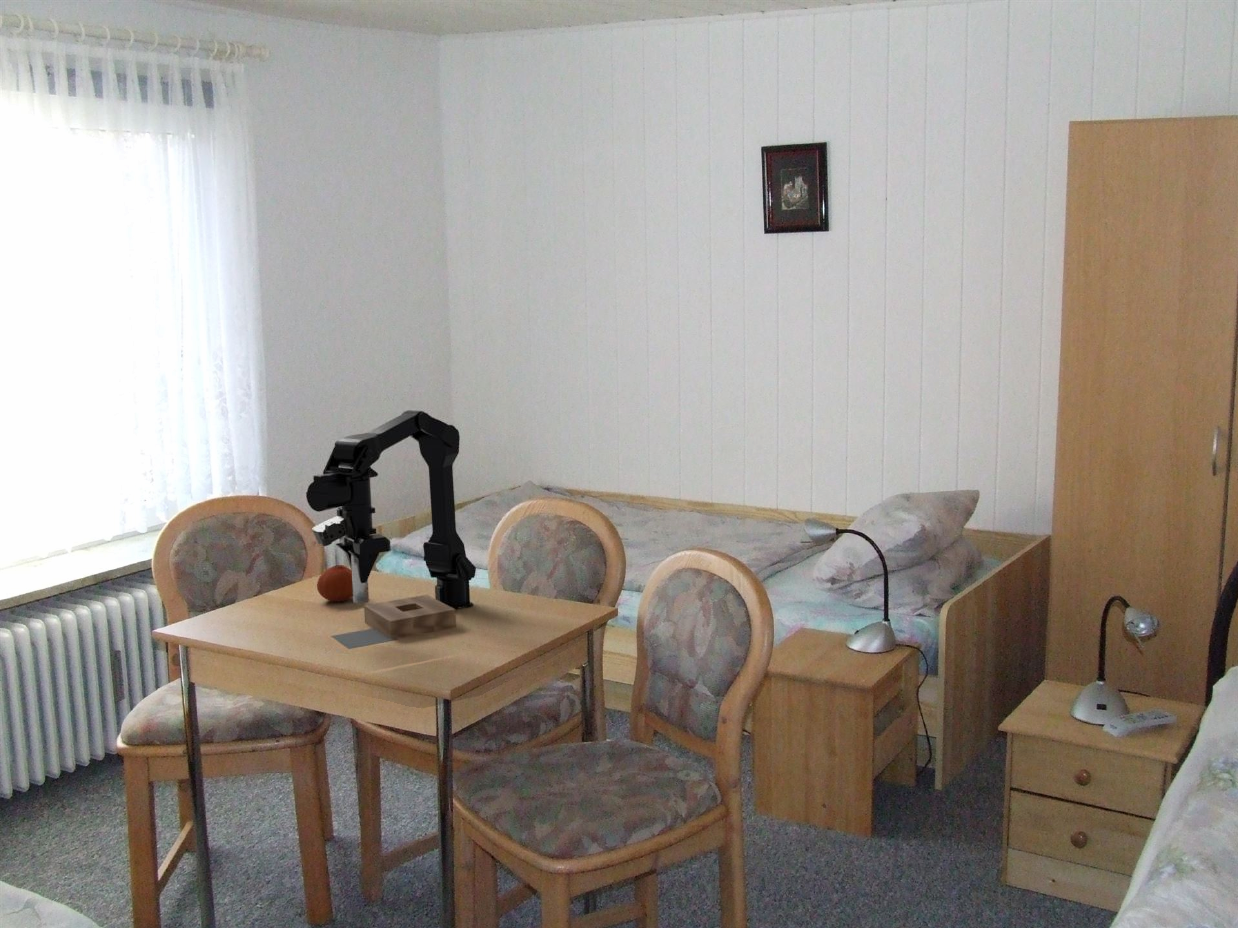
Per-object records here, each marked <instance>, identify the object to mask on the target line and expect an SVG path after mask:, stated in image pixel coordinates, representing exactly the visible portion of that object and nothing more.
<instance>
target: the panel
mask: <svg viewBox="0 0 1238 928" xmlns="http://www.w3.org/2000/svg"><path fill="white" fill-rule="evenodd" d="M331 638H332V639H334V640H336V641H337V642H338V643H340V644H341V645H342V646H344V647H346V648H347V649H348V650H350V649H355V648H360V647H365V646H372V645H377V644H381V643H387V642H393V641H397V640H399V638H394V639H390V638H389V637H387V636H386V635H384V634H382V633H381V632H379V631H378V630H376V629H374V628H372V627H371V628H369V629H361V630H357V631H351V632H346V633H340V634H335V635H331Z"/></svg>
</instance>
